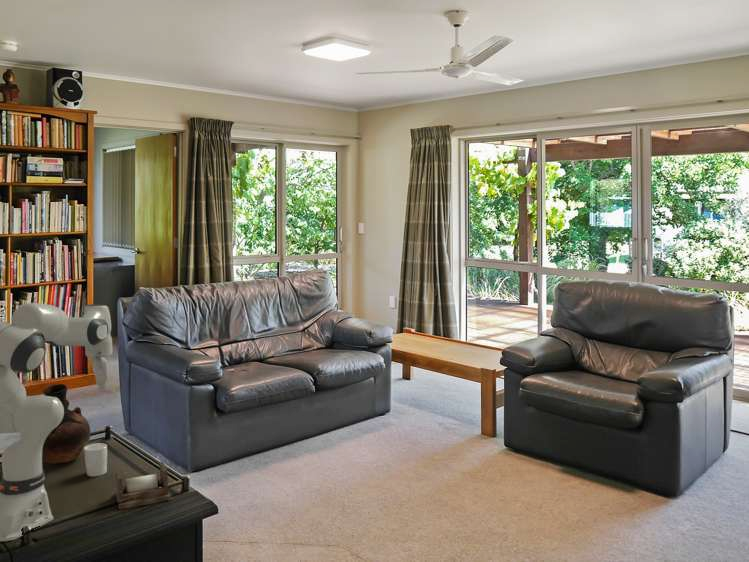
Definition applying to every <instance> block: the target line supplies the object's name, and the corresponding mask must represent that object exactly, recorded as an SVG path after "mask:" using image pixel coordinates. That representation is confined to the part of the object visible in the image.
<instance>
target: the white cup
mask: <svg viewBox="0 0 749 562" xmlns="http://www.w3.org/2000/svg"><path fill="white" fill-rule="evenodd" d="M83 455H84V463H85V469H86V475H87V476H89V477H100V476H104V475H105V474H106V473H107V472H108V466H107V465H108V445H107V444H106V443H103V442H97V443H96V442H95V443H90V444H87V446H85V447H84V451H83Z"/></svg>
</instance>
